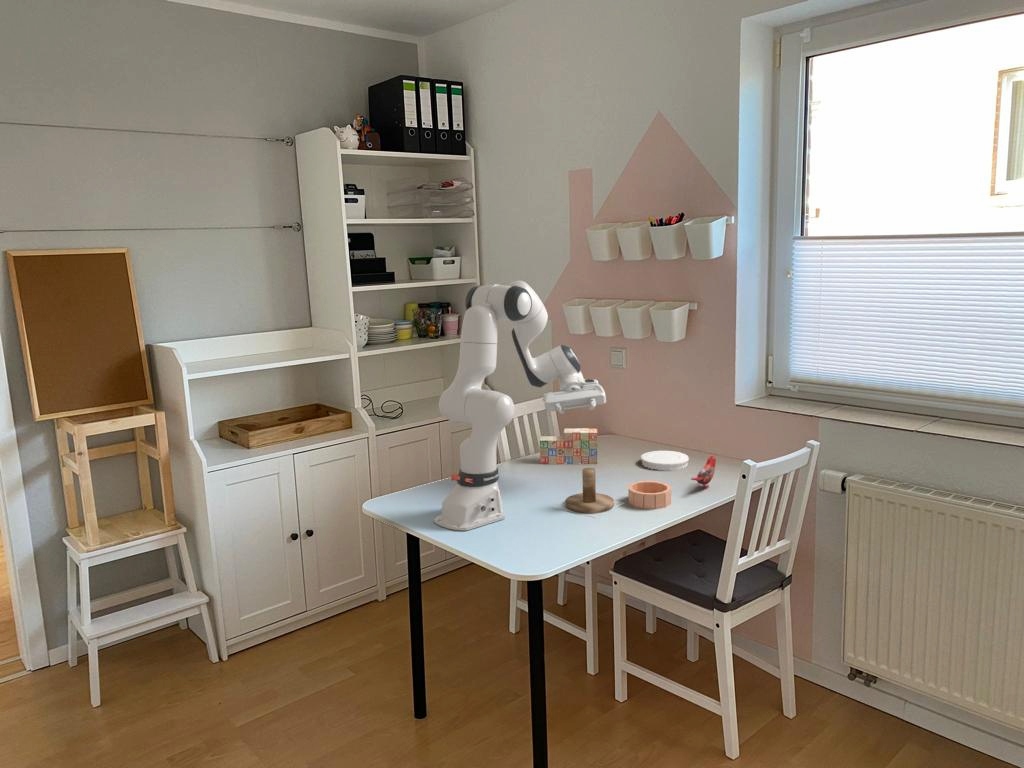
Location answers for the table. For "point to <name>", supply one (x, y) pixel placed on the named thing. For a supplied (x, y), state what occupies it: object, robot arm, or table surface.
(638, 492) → the terracotta bowl
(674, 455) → the lid
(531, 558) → the table surface
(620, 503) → the rubber mat
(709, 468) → the decorative bird figurine
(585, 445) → the stack of blocks
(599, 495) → the walnut lid
